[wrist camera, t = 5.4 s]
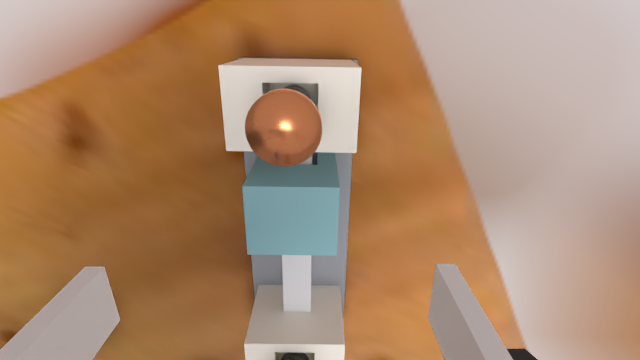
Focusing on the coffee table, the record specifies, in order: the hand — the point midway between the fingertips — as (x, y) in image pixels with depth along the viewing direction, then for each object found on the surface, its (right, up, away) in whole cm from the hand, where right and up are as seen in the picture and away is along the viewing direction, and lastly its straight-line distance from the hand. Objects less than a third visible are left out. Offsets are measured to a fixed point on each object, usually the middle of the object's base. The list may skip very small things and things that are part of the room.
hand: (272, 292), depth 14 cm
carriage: (0, +5, +15) cm, 16 cm away
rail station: (0, +2, +18) cm, 18 cm away
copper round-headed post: (0, +9, +8) cm, 12 cm away
